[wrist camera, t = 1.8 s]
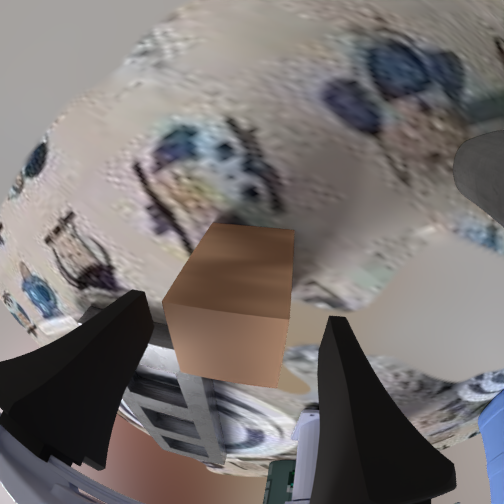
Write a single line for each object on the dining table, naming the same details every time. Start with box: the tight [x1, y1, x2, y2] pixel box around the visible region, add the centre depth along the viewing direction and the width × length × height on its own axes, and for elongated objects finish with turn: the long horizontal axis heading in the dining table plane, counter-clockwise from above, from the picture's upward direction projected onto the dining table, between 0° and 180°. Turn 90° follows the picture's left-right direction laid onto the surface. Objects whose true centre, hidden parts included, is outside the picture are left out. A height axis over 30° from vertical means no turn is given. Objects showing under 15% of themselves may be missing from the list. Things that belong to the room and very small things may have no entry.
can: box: [263, 460, 296, 504], centre depth 26 cm, size 6×6×15 cm
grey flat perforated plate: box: [77, 306, 227, 465], centre depth 25 cm, size 10×30×2 cm, turn 179°
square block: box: [162, 223, 295, 388], centre depth 12 cm, size 4×4×6 cm
